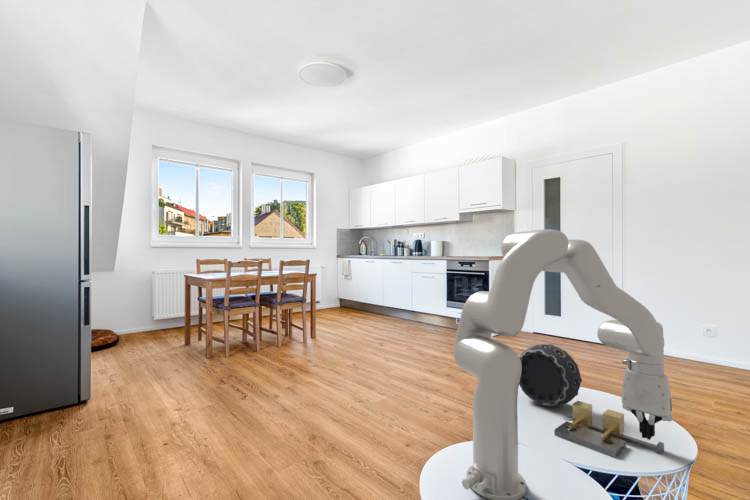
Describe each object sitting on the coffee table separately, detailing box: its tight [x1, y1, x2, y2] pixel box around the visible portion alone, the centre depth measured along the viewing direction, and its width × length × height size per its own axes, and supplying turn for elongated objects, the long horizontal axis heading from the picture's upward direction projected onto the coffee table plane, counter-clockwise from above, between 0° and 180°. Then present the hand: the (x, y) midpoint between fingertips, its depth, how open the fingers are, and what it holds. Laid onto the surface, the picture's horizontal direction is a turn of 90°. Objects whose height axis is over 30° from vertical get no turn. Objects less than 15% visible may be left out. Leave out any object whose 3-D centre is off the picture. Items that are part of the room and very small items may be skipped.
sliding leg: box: [601, 408, 625, 440], centre depth 98 cm, size 11×4×5 cm, turn 130°
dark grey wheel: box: [519, 343, 583, 408], centre depth 122 cm, size 11×20×20 cm, turn 37°
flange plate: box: [553, 421, 627, 459], centre depth 98 cm, size 8×15×2 cm, turn 40°
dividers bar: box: [569, 400, 665, 455], centre depth 98 cm, size 11×21×6 cm, turn 40°
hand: (647, 436), depth 94 cm, fingers closed
